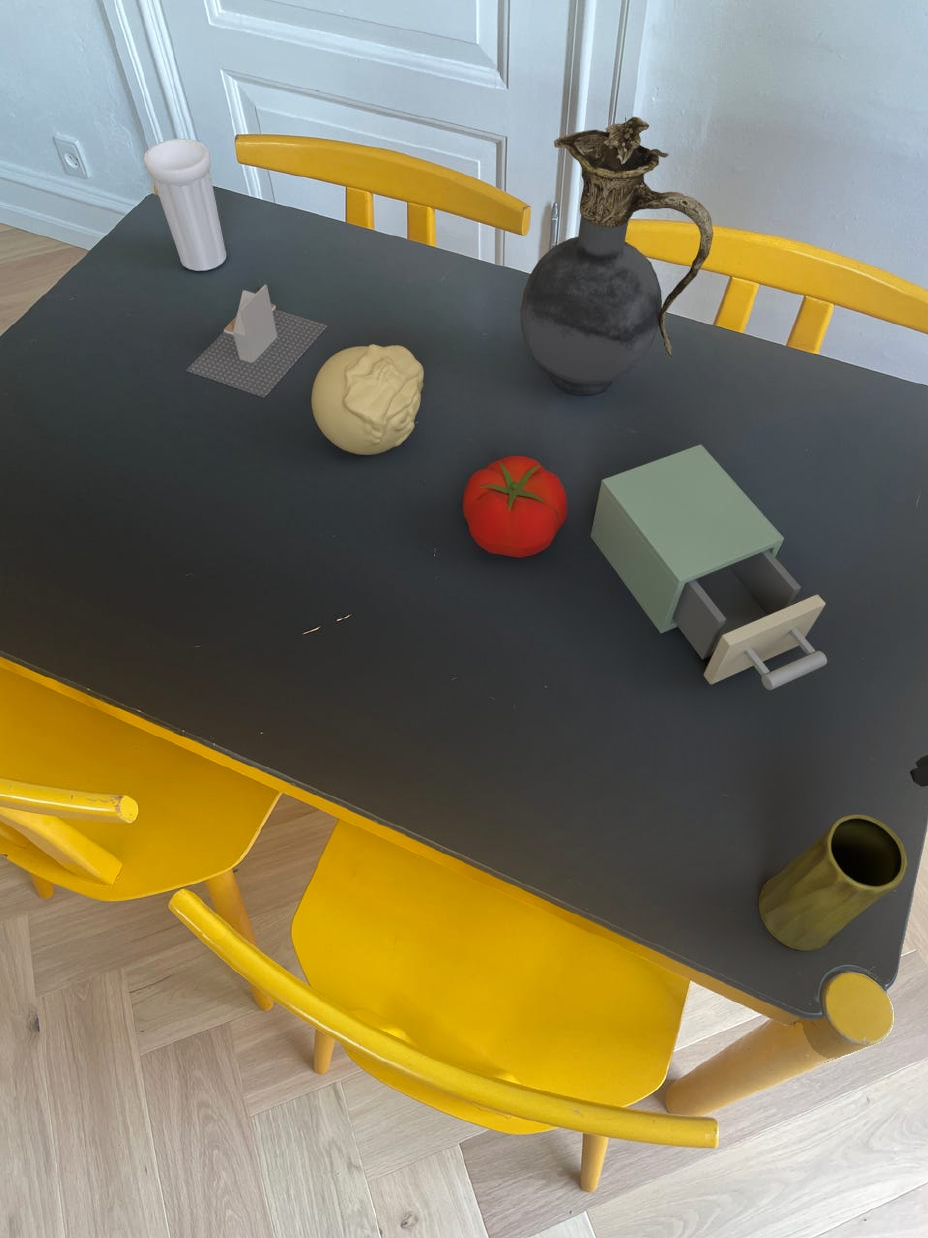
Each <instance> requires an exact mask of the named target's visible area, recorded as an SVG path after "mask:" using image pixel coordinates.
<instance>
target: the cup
mask: <svg viewBox="0 0 928 1238" xmlns="http://www.w3.org/2000/svg"><path fill="white" fill-rule="evenodd" d="M211 161H212V159H211V152H210V150H209V149H208V148H207V146H206V145H205V144H204V143H202V142H200V141H198V140H195V139H189V138H171V139H167V140H163V141H160V142H157V143H156V144H154V145H152V146H150V148H149V149H148V150H147V151H145V152H144V158H143V164H144V166H145V168H146V171H147V172H148V174H149V176H150V177H151V178H152V180H153V183H154V185H155V188H156V191H157V194H158V197H159V200H160V203H161V206H162V210H163V212H164V215H165V218H166V221H167V224H168V227H169V230H170V233H171V236H172V238H173V242H174V245H175V247H176V250H177V251H176V252H177V253H178V257H179V261H180V264H181V265H182V266H183V267H184V268H186V269H188V270H191V271H197V272H200V271H202V272H203V271H209V270H212V269H216V268H217V267H220V266H221V265H222V264H223V263H224V262H225V261H226V259H227V251H226V245H225V241H224V237H223V232H222V227H221V226H222V225H221V221H220V217H219V212H218V207H217V201H216V197H215V190H214V186H213V181H212V176H211V171H210V170H211V163H212V162H211Z"/></svg>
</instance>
